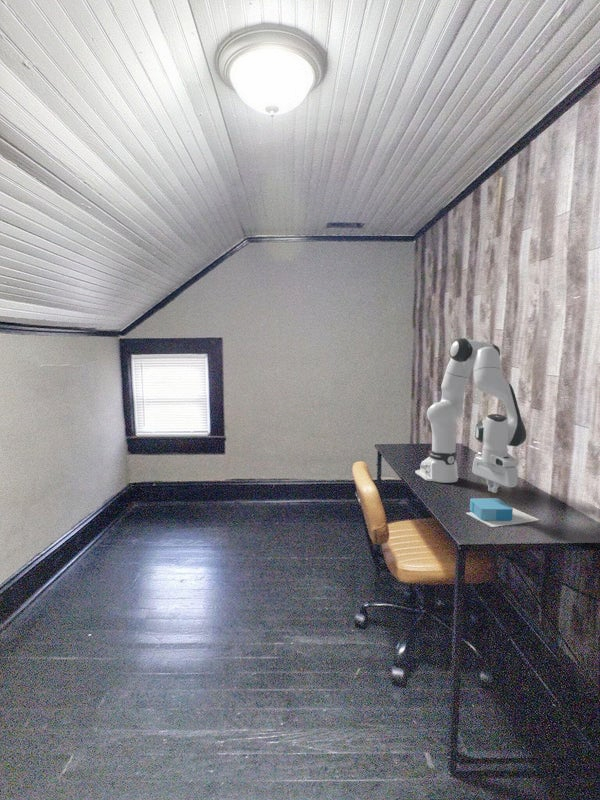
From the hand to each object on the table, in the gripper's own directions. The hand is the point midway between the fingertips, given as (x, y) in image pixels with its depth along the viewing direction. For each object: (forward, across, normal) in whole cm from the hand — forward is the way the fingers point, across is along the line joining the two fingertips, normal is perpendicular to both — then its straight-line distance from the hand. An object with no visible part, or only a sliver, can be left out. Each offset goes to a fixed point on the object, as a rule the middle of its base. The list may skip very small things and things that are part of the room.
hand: (492, 491), depth 165 cm
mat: (+9, +4, +1) cm, 10 cm away
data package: (+6, -4, -1) cm, 7 cm away
